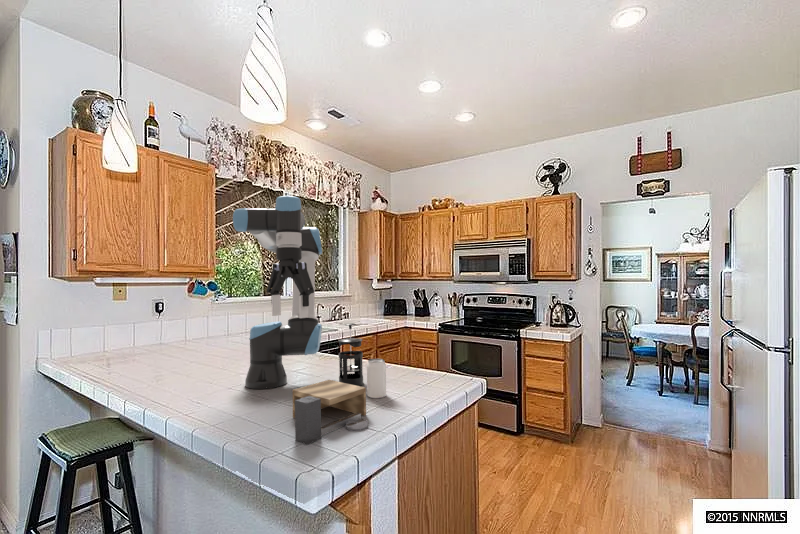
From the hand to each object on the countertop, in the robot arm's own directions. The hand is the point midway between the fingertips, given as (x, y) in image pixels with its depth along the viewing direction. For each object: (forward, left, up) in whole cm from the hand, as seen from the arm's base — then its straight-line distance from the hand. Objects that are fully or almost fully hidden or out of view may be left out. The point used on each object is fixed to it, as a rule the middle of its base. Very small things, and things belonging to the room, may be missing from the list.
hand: (289, 316), depth 123 cm
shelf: (+13, +4, -29) cm, 32 cm away
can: (+11, +27, -29) cm, 41 cm away
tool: (+21, -2, -29) cm, 36 cm away
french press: (-6, +32, -29) cm, 44 cm away
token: (+25, +3, -29) cm, 38 cm away
